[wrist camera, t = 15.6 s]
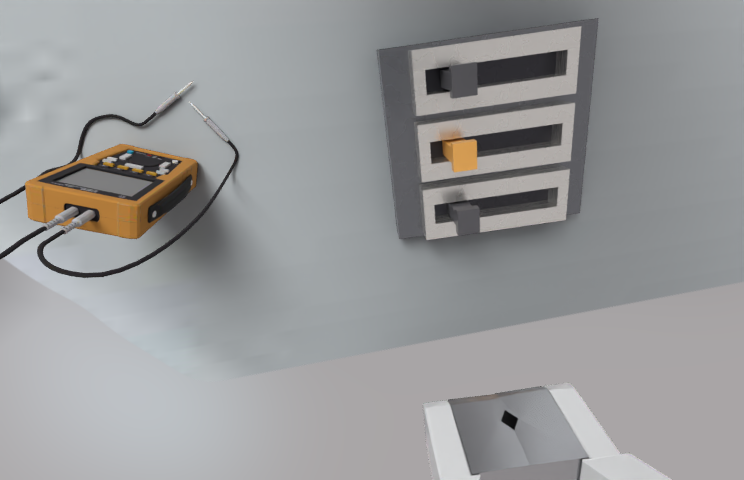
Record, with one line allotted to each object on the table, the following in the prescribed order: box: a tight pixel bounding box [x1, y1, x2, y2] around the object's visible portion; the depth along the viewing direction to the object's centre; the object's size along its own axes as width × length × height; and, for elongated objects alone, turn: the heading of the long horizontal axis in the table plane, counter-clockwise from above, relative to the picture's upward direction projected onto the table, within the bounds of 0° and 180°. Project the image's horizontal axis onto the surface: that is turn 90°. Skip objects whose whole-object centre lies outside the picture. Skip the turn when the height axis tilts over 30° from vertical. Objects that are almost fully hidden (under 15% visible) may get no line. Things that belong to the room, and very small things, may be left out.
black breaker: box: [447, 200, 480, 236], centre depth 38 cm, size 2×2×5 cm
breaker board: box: [377, 18, 598, 240], centre depth 38 cm, size 19×18×4 cm
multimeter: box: [0, 81, 238, 278], centre depth 29 cm, size 15×10×20 cm
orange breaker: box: [442, 138, 477, 172], centre depth 36 cm, size 2×2×5 cm
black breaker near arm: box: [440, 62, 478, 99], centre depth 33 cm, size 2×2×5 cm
